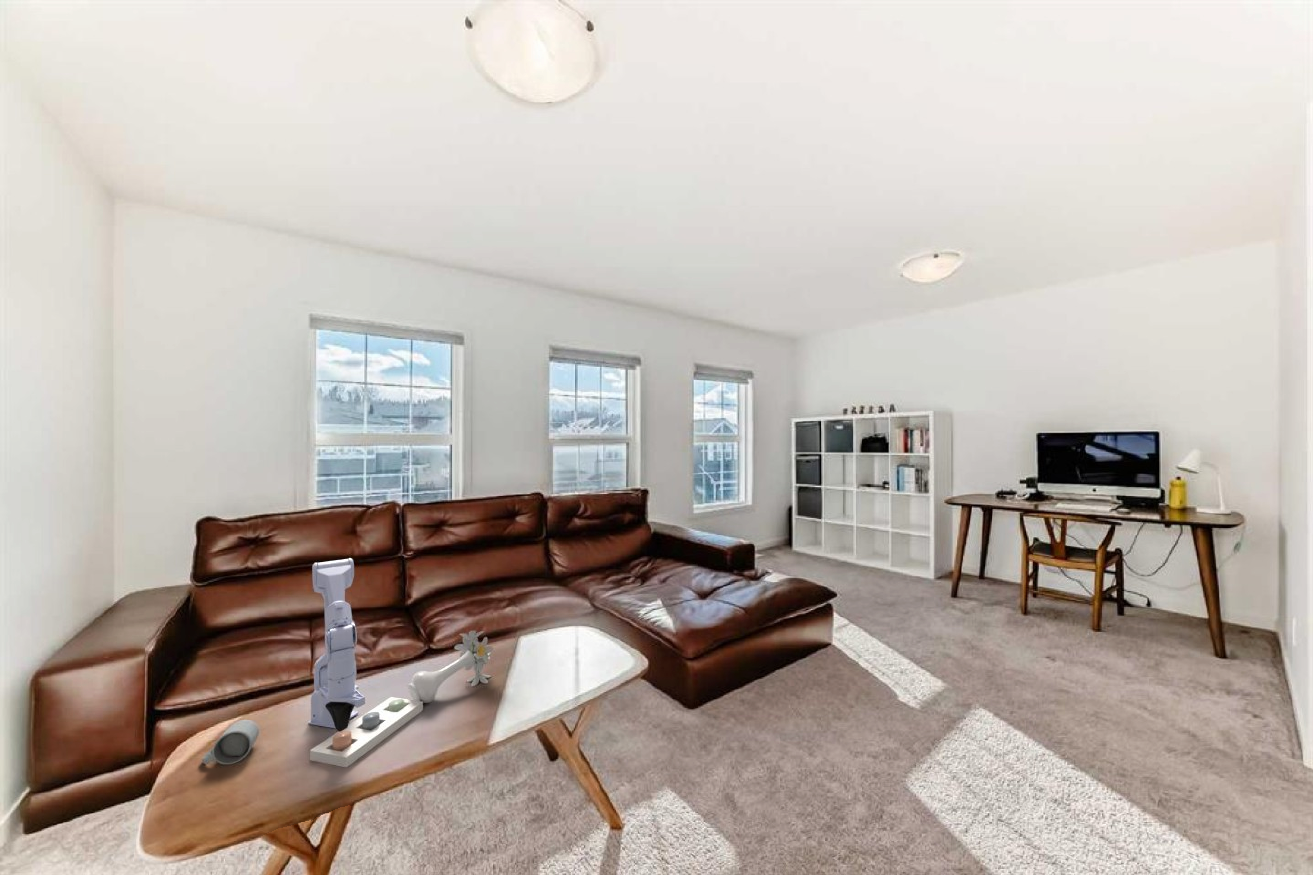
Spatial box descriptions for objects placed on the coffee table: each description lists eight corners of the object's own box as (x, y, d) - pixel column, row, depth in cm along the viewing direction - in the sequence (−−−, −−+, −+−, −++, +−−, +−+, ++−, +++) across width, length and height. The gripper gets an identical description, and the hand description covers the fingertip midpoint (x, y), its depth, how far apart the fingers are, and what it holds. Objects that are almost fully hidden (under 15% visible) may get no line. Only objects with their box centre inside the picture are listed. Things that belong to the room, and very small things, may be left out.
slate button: (358, 730, 134) (358, 718, 134) (371, 722, 138) (370, 710, 138) (371, 733, 133) (371, 720, 133) (383, 724, 137) (382, 712, 137)
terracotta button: (328, 751, 125) (328, 738, 125) (342, 742, 129) (342, 729, 129) (341, 754, 124) (341, 741, 124) (355, 744, 128) (355, 731, 128)
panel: (310, 759, 124) (310, 750, 124) (391, 705, 149) (391, 696, 149) (346, 767, 121) (346, 757, 121) (422, 709, 146) (422, 701, 146)
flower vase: (428, 730, 148) (502, 678, 165) (416, 680, 142) (494, 632, 159) (408, 708, 156) (481, 660, 174) (396, 659, 150) (472, 615, 168)
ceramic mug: (261, 741, 132) (260, 712, 132) (251, 759, 124) (250, 728, 124) (209, 753, 127) (208, 722, 127) (196, 772, 120) (194, 740, 120)
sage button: (385, 716, 142) (385, 705, 142) (396, 709, 146) (395, 698, 146) (397, 718, 141) (397, 707, 141) (407, 711, 145) (407, 700, 145)
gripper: (376, 672, 127) (376, 726, 127) (337, 663, 133) (338, 714, 133) (349, 685, 121) (349, 742, 121) (310, 674, 126) (310, 729, 127)
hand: (342, 729), depth 126 cm, fingers closed
